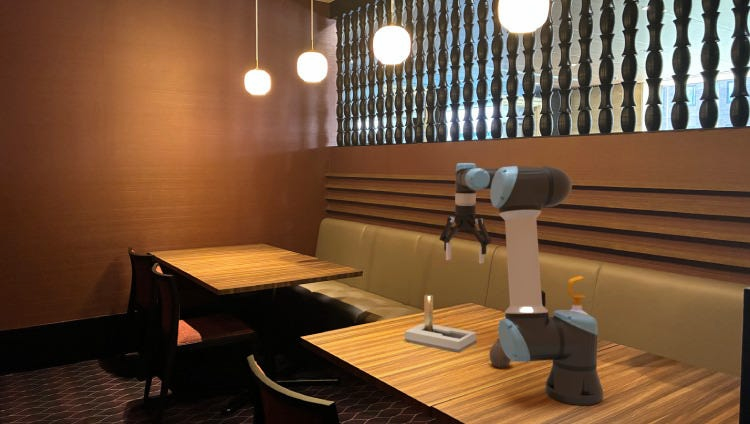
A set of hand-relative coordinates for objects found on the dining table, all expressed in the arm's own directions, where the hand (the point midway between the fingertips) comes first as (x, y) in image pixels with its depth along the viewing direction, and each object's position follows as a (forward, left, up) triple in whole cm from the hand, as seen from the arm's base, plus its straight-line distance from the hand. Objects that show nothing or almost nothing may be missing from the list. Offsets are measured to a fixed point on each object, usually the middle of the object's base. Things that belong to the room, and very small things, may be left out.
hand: (464, 261), depth 211 cm
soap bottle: (+16, -37, -29) cm, 50 cm away
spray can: (+4, -26, -29) cm, 39 cm away
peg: (-11, +9, -28) cm, 31 cm away
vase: (-22, -24, -29) cm, 44 cm away
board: (-11, +4, -29) cm, 31 cm away
